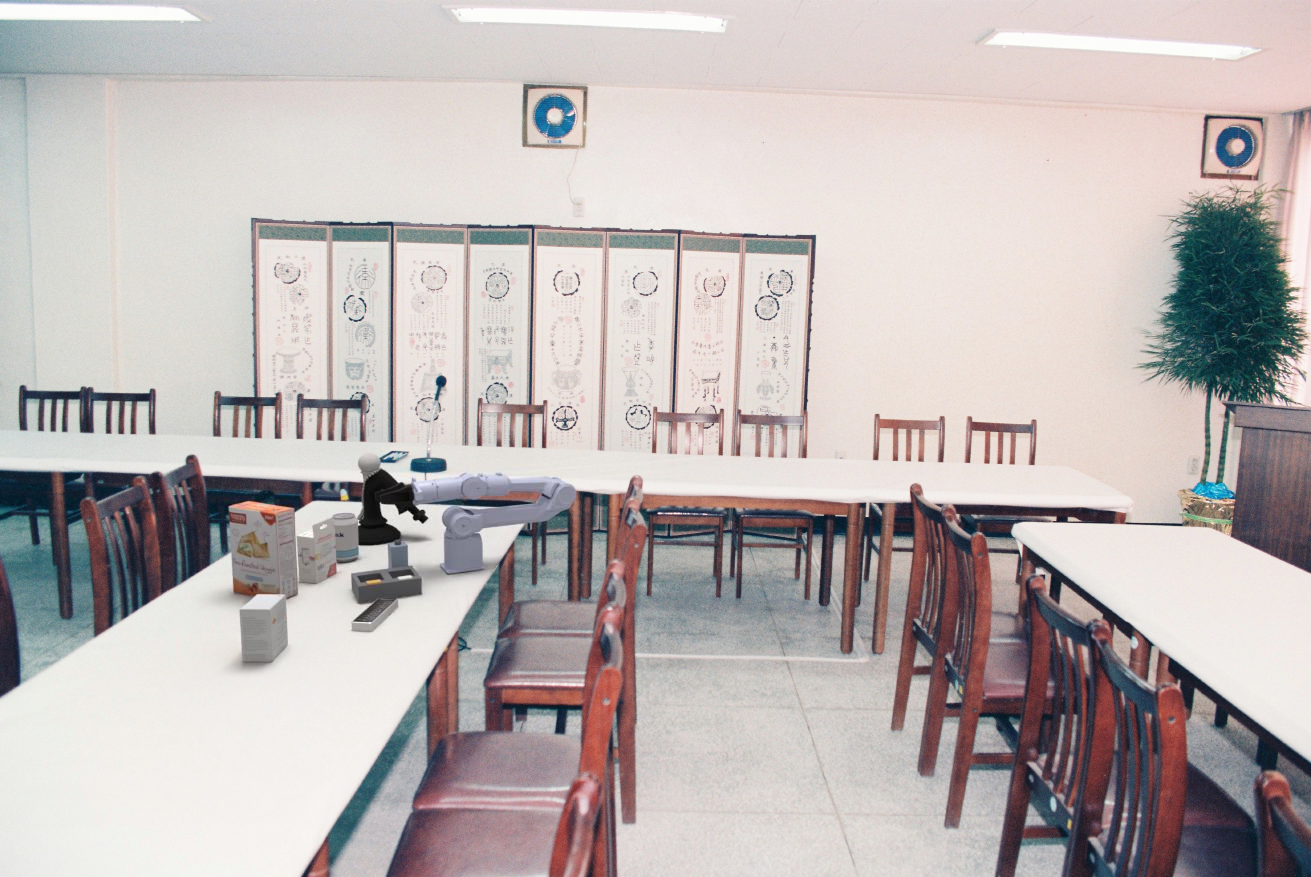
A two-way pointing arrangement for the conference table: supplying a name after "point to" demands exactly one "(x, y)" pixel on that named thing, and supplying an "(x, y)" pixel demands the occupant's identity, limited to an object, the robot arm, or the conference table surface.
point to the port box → (386, 583)
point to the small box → (263, 627)
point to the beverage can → (346, 537)
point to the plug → (397, 554)
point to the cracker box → (263, 549)
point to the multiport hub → (374, 614)
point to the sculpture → (378, 505)
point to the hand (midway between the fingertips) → (378, 498)
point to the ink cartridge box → (317, 552)
